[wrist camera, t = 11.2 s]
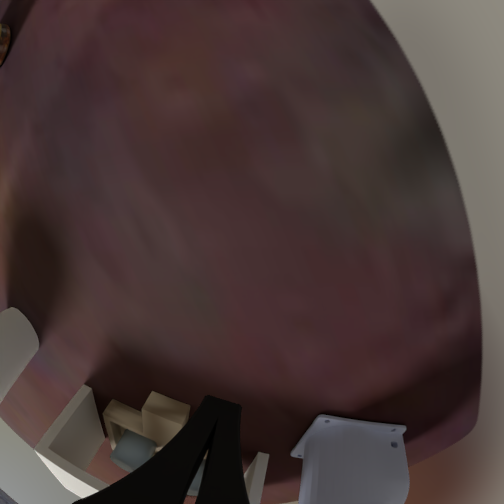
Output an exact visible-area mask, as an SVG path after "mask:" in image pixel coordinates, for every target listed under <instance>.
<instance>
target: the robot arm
mask: <svg viewBox="0 0 504 504" xmlns="http://www.w3.org/2000/svg"><path fill="white" fill-rule="evenodd" d="M241 410H242V407H241V405H239V404H236V403H232V402H229V401H226V400H222V399H219V398H216V397H213V396H210V395H207V396H205V397H204V399H203V401H202V403H201V404H200V406H199V407H198V409H197V410H196V412H195V413H194V414H193V415H192V417H191V418H190V419H189V421H188V422H187V423H186V424H185V425H184V426H183V427H182V429H181V430H180V431H179V432H178V433H177V434H176V435H175V436H174V437H173V438H172V439H171V440H170V441H169V442H168V443H167V444H166V445H165V446H164V447H163V448H162V449H161V450H160V451H159V452H157V453H156V454H155V455H154V456H153V457H151V458H150V459H149V460H148V461H146V462H145V463H144V464H143V465H141V466H140V467H138V468H137V469H136V470H134V471H133V472H131V473H130V474H128V475H127V476H125V477H124V478H122V479H120V480H119V481H117V482H115V483H113V484H112V485H110V486H108V487H106V488H104V489H102V490H100V491H98V492H96V493H94V494H92V495H90V496H87V497H85V498H82V499H80V500H78V501H75V502H74V503H72V504H183V503H184V500H185V497H186V495H187V493H188V490H189V488H190V486H191V484H192V482H193V480H194V478H195V476H196V474H197V472H198V470H199V467H200V465H201V463H202V461H203V459H204V457H205V455H206V453H207V450H208V453H207V457H206V461H205V466H204V470H203V474H202V479H201V483H200V487H199V492H198V495H197V499H196V502H195V504H250V502H249V498H248V494H247V490H246V485H245V480H244V474H243V467H242V459H241V447H240V418H241ZM405 431H406V426H404V425H395V424H385V423H376V422H368V421H361V420H354V419H347V418H341V417H335V416H330V415H324V414H322V415H318V416H317V417H316V419H315V420H314V422H313V423H312V424H311V426H310V427H309V429H308V430H307V431H306V433H305V434H304V435H303V437H302V438H301V439H300V441H299V442H298V443H297V445H296V446H295V447H294V448H293V450H292V451H291V454H290V455H291V456H292V457H297V458H303V465H302V475H301V485H300V493H299V502H298V504H404V502H405V500H406V498H407V495H408V491H409V482H410V481H409V473H408V465H407V459H406V453H405V447H404V441H403V436H402V434H403V433H404V432H405ZM0 504H18V503H17V502H15V501H14V500H13V499H12V498H10V497H9V496H8V495H7V494H6V493H5V492H4V491H3V490H1V489H0Z"/></svg>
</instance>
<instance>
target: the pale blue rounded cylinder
mask: <svg viewBox="0 0 504 504" xmlns="http://www.w3.org/2000/svg"><path fill="white" fill-rule="evenodd" d="M205 461H206V460H205V459H203V461H202V463H201V465H200V467H199V470H198V472H197V474H196V476H195V478H194V480H193V482H192V484H191V486H190V488H189V490H188V493H187V495H191V496H197V495H198V492H199V487H200V483H201V479H202V474H203V470H204V466H205Z"/></svg>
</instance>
